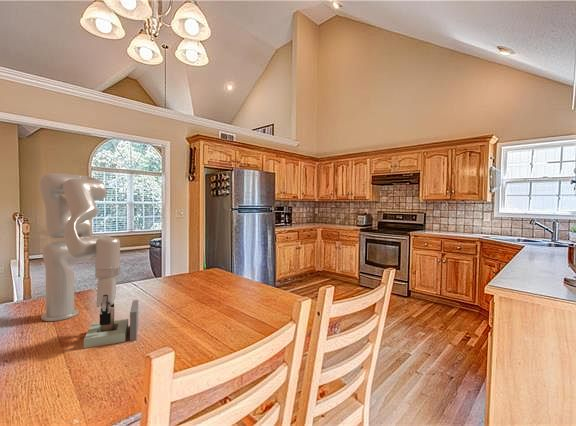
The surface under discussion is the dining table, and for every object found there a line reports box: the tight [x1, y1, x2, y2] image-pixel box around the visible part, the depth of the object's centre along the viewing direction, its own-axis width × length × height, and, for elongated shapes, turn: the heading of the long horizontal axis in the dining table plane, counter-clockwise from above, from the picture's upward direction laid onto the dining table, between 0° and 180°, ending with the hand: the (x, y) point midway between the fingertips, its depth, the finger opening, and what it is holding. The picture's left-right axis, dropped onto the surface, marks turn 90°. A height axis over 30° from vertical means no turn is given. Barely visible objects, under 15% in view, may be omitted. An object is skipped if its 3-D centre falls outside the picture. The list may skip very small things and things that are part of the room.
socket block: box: [83, 318, 129, 349], centre depth 106 cm, size 14×12×3 cm
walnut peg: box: [101, 306, 115, 332], centre depth 106 cm, size 4×4×10 cm
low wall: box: [129, 299, 139, 342], centre depth 110 cm, size 14×2×10 cm, turn 24°
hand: (107, 319), depth 107 cm, fingers open, 9 cm apart
